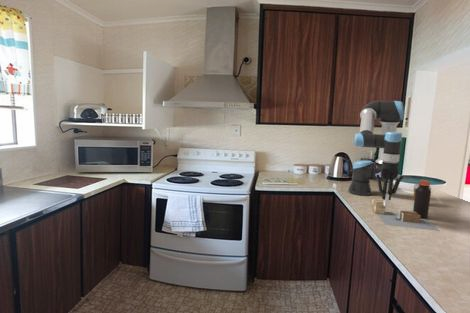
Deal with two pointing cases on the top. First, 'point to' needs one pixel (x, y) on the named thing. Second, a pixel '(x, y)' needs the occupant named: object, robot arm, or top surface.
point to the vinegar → (422, 199)
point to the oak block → (378, 206)
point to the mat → (394, 220)
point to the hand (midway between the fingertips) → (385, 205)
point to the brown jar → (416, 188)
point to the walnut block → (409, 216)
